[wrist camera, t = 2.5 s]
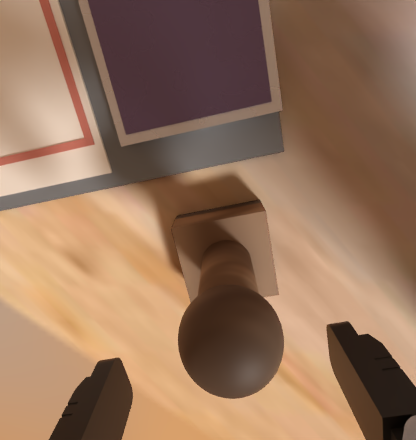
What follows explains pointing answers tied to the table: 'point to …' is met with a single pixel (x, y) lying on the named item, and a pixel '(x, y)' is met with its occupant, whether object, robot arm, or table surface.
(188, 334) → the stamp
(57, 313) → the table surface
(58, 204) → the table surface
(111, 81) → the ink pad
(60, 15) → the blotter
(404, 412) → the robot arm
